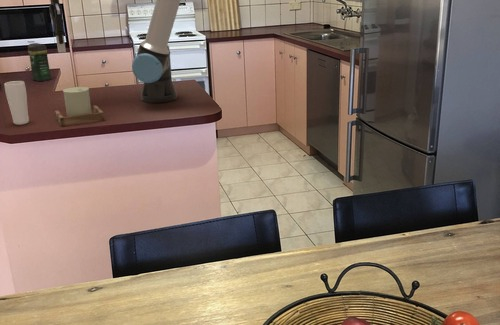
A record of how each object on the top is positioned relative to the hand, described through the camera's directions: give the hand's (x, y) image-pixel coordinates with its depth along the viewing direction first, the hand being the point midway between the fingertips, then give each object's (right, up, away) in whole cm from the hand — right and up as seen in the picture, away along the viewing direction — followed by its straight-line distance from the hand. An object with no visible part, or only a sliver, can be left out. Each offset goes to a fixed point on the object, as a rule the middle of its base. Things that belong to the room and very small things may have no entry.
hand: (62, 52), depth 204 cm
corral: (+10, -27, -9) cm, 30 cm away
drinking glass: (-10, -29, -13) cm, 33 cm away
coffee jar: (-33, -1, +63) cm, 72 cm away
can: (+10, -28, -10) cm, 31 cm away
